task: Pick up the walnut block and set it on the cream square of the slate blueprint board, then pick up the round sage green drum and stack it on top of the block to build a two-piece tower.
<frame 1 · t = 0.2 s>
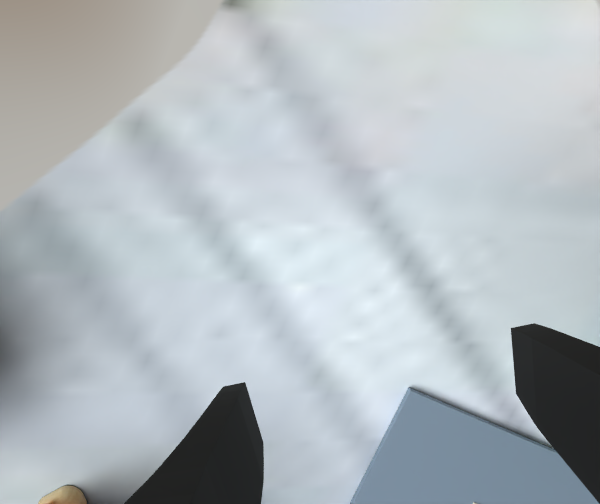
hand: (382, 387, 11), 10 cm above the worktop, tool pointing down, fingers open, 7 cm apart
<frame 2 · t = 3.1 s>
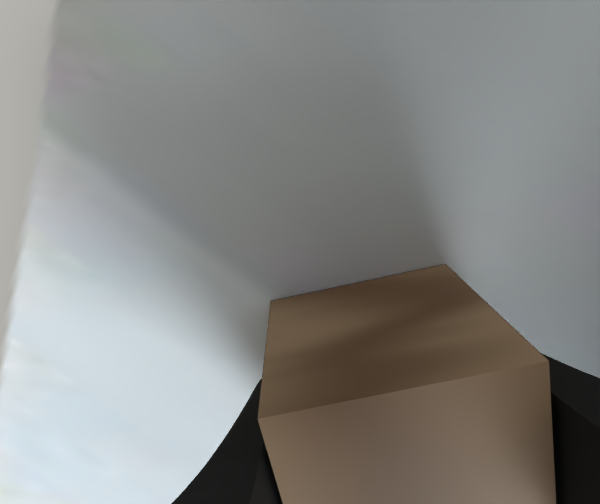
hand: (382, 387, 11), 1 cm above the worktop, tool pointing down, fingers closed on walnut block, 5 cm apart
walnut block: (371, 358, 13), on the worktop, touching gripper
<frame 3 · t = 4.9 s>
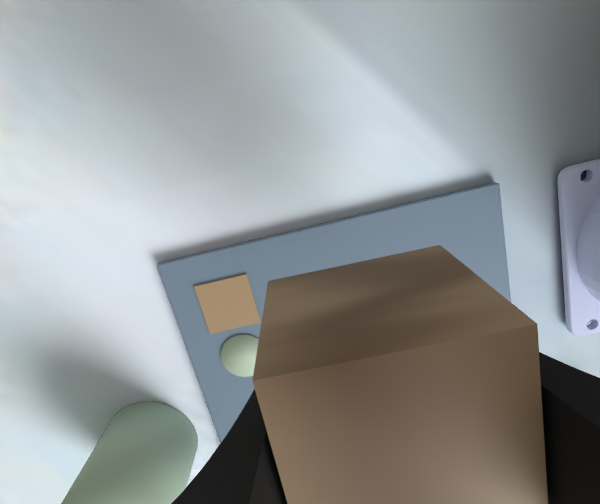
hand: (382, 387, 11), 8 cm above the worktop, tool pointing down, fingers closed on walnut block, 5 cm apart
blueprint board: (363, 394, 21), on the worktop
walnut block: (367, 339, 13), point 7 cm above the worktop, touching gripper
sage drum: (152, 439, 22), on the worktop
when the fingers open (3 cm above the worktop, at t = 6.8 s): walnut block drops 1 cm, resting on blueprint board.
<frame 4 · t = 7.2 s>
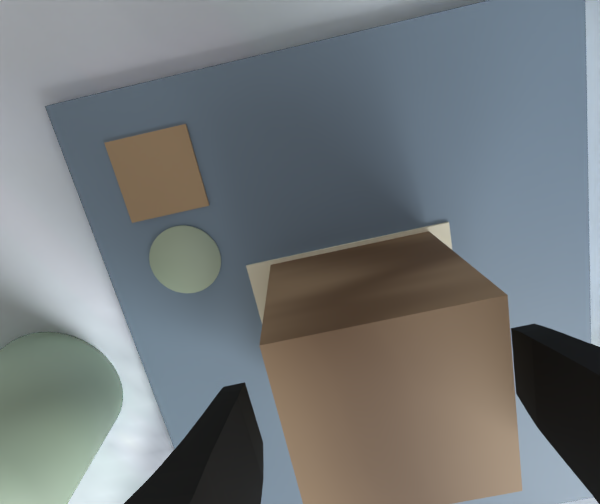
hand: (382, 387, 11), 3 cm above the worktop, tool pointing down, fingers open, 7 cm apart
blueprint board: (361, 327, 15), on the worktop
walnut block: (362, 319, 14), resting on blueprint board
sage drum: (57, 389, 15), on the worktop
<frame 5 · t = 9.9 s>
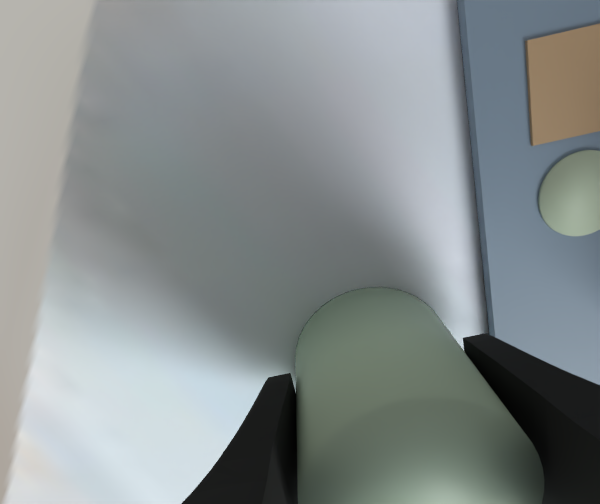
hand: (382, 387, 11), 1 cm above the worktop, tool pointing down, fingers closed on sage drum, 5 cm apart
sage drum: (372, 358, 13), on the worktop, touching gripper
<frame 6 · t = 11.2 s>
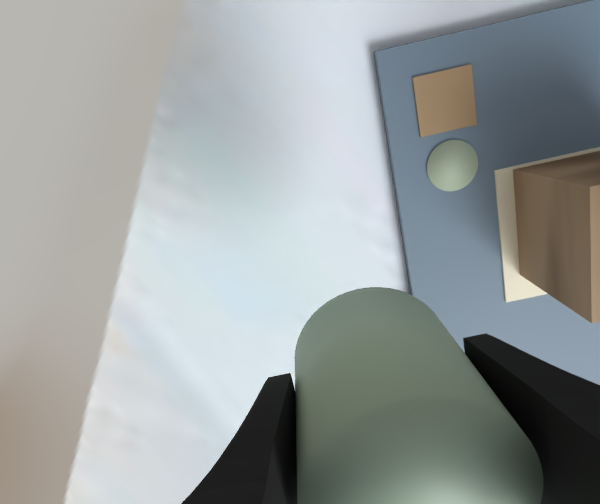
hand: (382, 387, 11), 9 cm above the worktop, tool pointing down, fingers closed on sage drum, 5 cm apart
blueprint board: (564, 222, 20), on the worktop
walnut block: (572, 212, 19), resting on blueprint board
sage drum: (371, 358, 13), point 8 cm above the worktop, touching gripper
when the fingers open (8 cm above the worktop, at t = 12.8 s): sage drum stays where it is, resting on walnut block.
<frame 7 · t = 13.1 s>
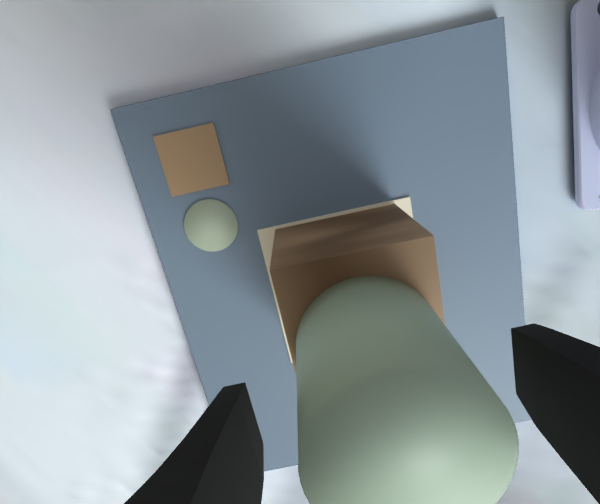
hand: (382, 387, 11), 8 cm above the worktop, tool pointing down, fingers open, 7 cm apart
blueprint board: (345, 280, 19), on the worktop
walnut block: (345, 272, 18), resting on blueprint board, touching sage drum
sage drum: (367, 342, 14), point 5 cm above the worktop, touching walnut block
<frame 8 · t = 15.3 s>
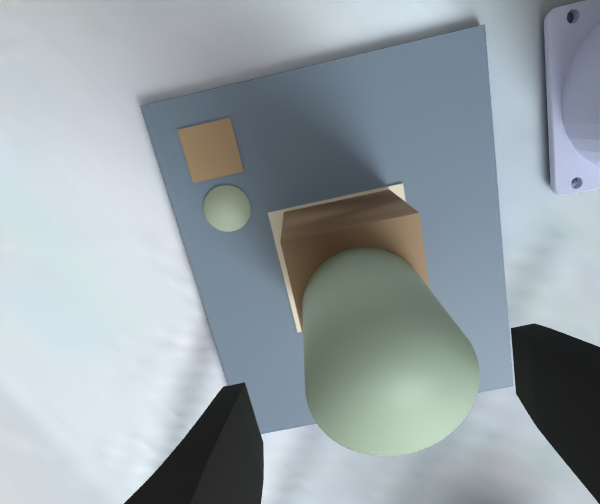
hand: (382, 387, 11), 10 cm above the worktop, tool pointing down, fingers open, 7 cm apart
blueprint board: (346, 258, 21), on the worktop
walnut block: (345, 250, 21), resting on blueprint board, touching sage drum
sage drum: (363, 305, 16), point 5 cm above the worktop, touching walnut block
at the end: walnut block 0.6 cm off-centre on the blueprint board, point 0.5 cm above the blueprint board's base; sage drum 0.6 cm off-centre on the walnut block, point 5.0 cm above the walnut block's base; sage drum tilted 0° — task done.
